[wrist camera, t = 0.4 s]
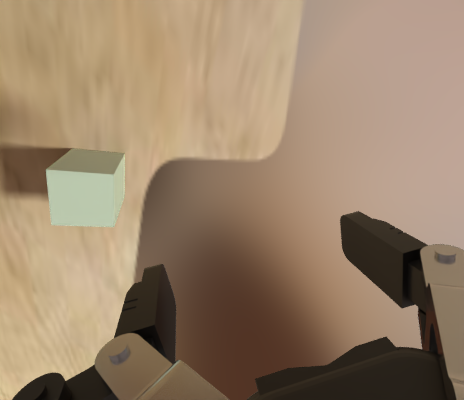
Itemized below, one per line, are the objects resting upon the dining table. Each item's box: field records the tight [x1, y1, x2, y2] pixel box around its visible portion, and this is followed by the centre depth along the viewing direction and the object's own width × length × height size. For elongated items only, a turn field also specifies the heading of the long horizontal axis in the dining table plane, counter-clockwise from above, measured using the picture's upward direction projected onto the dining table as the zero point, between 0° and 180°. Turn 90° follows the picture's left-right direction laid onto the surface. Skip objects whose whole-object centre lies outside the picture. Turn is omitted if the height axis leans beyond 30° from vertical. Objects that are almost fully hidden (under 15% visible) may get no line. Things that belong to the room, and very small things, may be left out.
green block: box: [46, 148, 125, 227], centre depth 27 cm, size 5×5×7 cm
